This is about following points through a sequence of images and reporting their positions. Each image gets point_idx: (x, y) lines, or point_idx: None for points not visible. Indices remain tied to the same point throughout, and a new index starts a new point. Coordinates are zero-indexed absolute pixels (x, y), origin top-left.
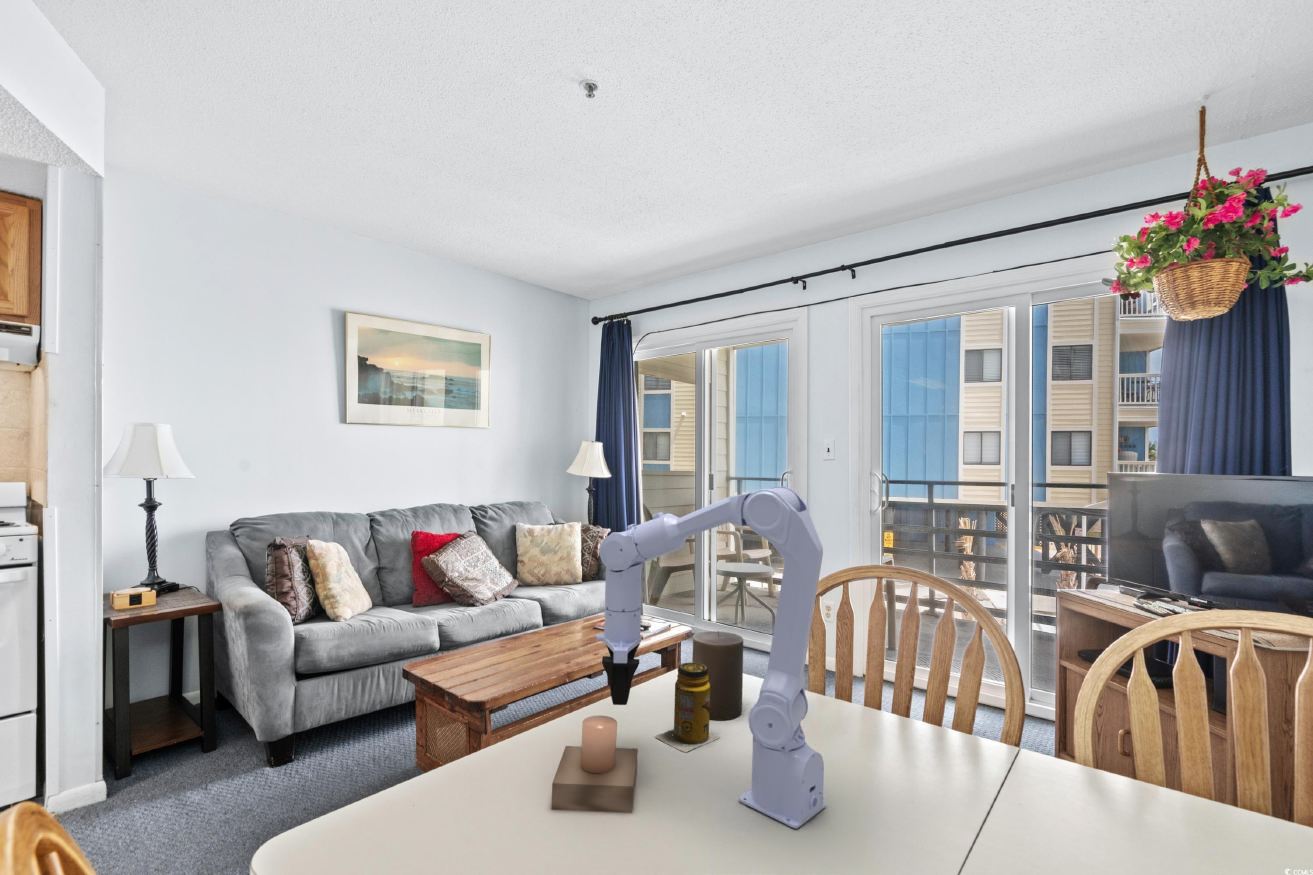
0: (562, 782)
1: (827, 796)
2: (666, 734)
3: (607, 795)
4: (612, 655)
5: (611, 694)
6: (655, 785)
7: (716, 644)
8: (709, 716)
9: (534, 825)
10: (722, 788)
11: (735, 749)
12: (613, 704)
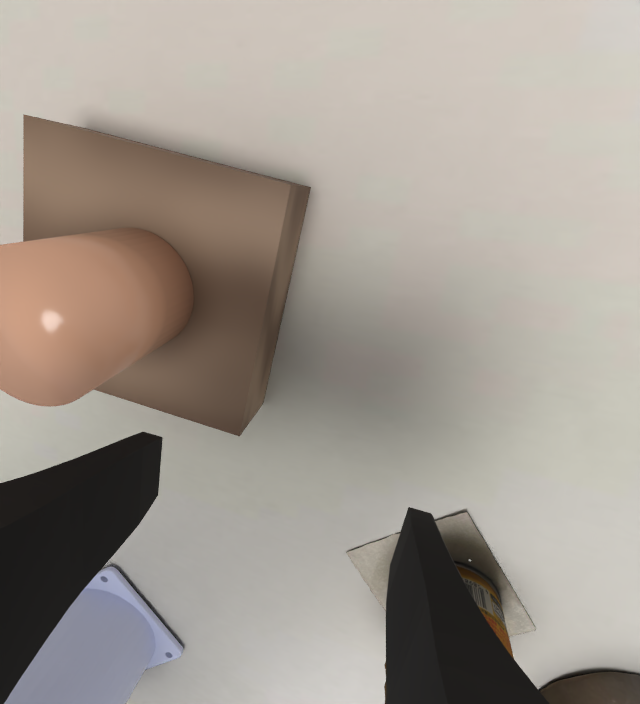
0: (31, 153)
1: (131, 700)
2: (472, 546)
3: None
4: (431, 676)
5: (99, 449)
6: (189, 428)
7: None
8: (548, 695)
9: (11, 73)
10: (167, 558)
11: (342, 658)
12: (141, 432)
